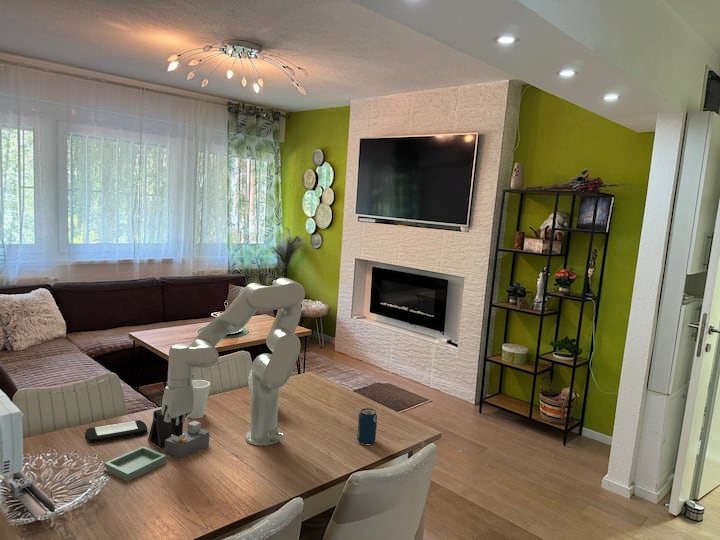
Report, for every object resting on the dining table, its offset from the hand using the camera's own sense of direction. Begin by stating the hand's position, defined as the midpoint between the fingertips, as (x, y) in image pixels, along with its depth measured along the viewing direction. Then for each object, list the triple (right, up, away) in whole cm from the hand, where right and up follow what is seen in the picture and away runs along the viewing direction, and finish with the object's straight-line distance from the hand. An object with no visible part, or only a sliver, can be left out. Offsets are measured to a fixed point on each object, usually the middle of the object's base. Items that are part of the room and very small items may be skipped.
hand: (177, 434), depth 163 cm
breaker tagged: (0, -4, 0) cm, 4 cm away
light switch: (-26, -4, +12) cm, 29 cm away
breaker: (+3, -2, +7) cm, 8 cm away
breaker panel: (+2, -6, +4) cm, 8 cm away
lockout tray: (-9, -7, -10) cm, 15 cm away
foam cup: (-4, -3, +32) cm, 32 cm away
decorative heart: (+20, -4, +45) cm, 49 cm away
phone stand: (-8, -6, +8) cm, 12 cm away
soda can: (+64, -10, +20) cm, 67 cm away
